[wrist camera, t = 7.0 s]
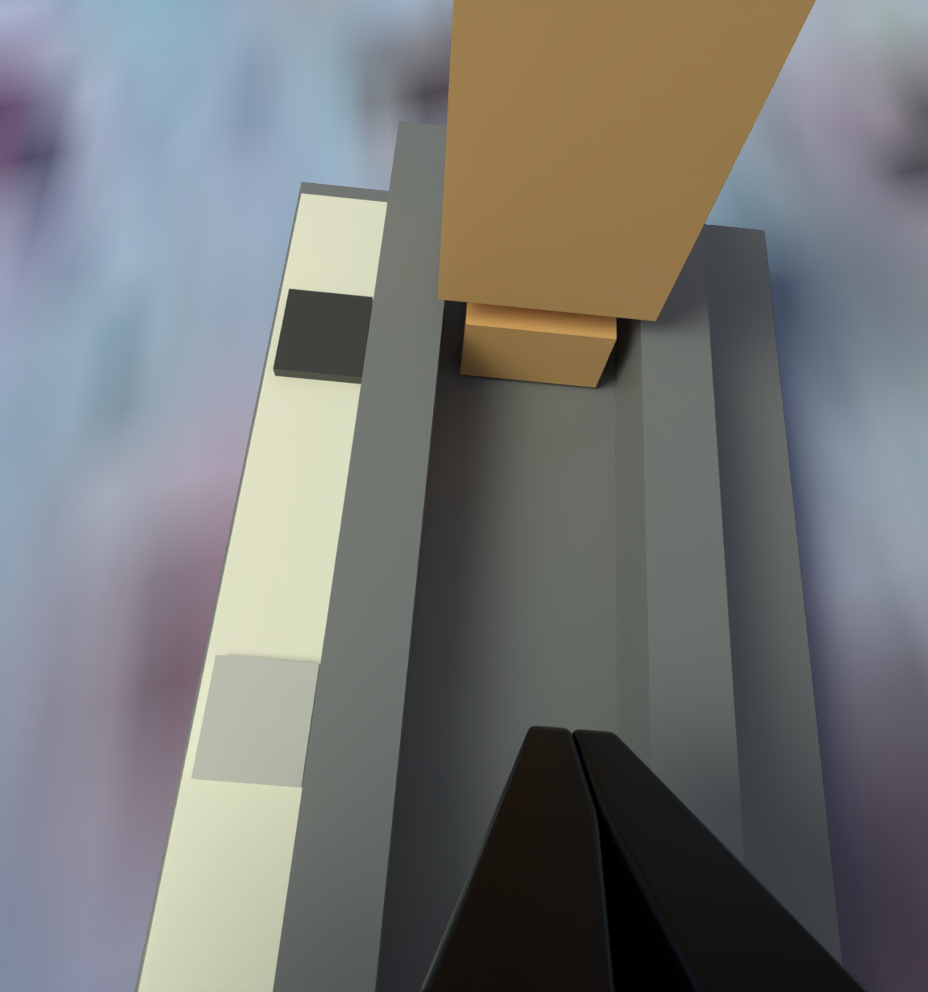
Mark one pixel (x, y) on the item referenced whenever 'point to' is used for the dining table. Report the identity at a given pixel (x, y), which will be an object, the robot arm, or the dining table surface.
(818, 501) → the dining table surface
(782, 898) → the switch housing
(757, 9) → the switch tab
